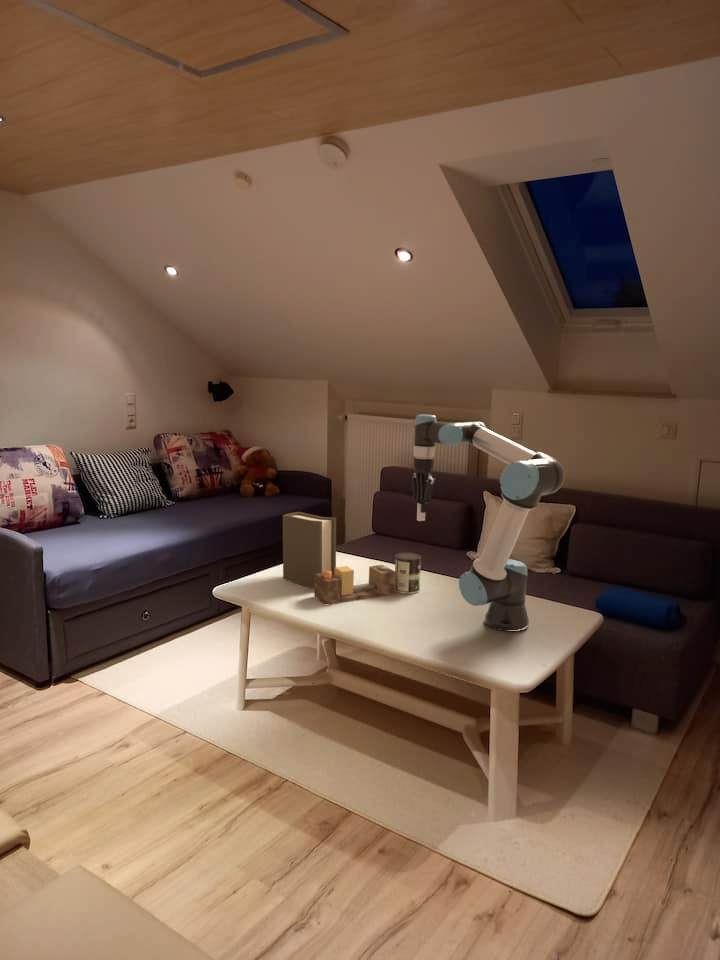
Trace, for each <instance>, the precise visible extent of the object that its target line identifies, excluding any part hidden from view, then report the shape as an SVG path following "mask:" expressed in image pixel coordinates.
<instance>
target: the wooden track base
mask: <svg viewBox="0 0 720 960" xmlns="http://www.w3.org/2000/svg"><path fill="white" fill-rule="evenodd" d="M368 583H374V584H376V587H375V590H369V591H362V592H356V593H353V594H350V595H344V596H341V595H340V588H341V580H340V579H339V578H337V577H336V576H334V575H333V574H332V578H329V579H324V573H319V574H315V584H314V589H313V590H314V591H313V592H314V593H313V594H314V595H313V596H315V597H314V598H316V597H317V598H318V599H319V601H320V602H321V601H322V602H323V604H324V605H325V604H329V605H332V604H333V603H335V604H340V603H341V604H342V603H345V602H353V601H359V600H365V599H371V598H376V597H377V598H378V597H383V596H389V595H395V594H396V593H395V592H396V591H395V570H393V569H391V568H389V567H387V566H385V565H384V564H379V565H378V564H377V565H371V566H370V565H369V569H368ZM317 598H316V599H317ZM318 599H317V600H318ZM322 602H321V603H322ZM333 605H334V604H333Z"/></svg>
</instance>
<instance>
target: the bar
mask: <svg viewBox="0 0 720 960" xmlns="http://www.w3.org/2000/svg"><path fill="white" fill-rule="evenodd" d="M375 587H376V584H374V583H369V582H368V583H363V584H356V585H354V584H353V593H356V592H362V591H369V590H375Z"/></svg>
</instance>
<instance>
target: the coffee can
mask: <svg viewBox="0 0 720 960" xmlns="http://www.w3.org/2000/svg"><path fill="white" fill-rule="evenodd" d="M394 558H395V563H394V567H395V568H394V571H395V592H396V593H399V594H403V595H413V594H414V595H415V594H417V593H419V592H420V589H421V588H420V587H421V586H420V585H421V584H420V583H421V565H422V564H421V563H422V556H421V554H419V553H414V552H398V553H396V554H395V557H394Z"/></svg>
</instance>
